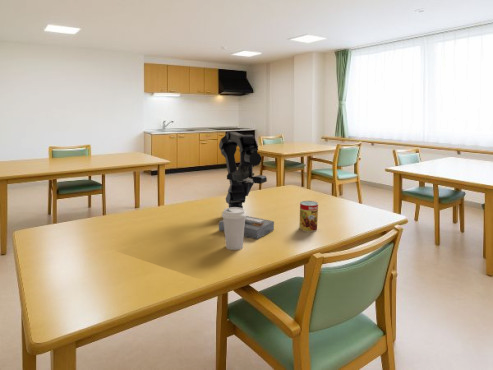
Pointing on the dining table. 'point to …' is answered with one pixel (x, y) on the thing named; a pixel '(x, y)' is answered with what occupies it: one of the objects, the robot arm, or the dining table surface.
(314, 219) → the canned food
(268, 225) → the silver metal tray
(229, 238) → the coffee cup
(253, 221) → the steel strap
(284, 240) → the dining table surface
